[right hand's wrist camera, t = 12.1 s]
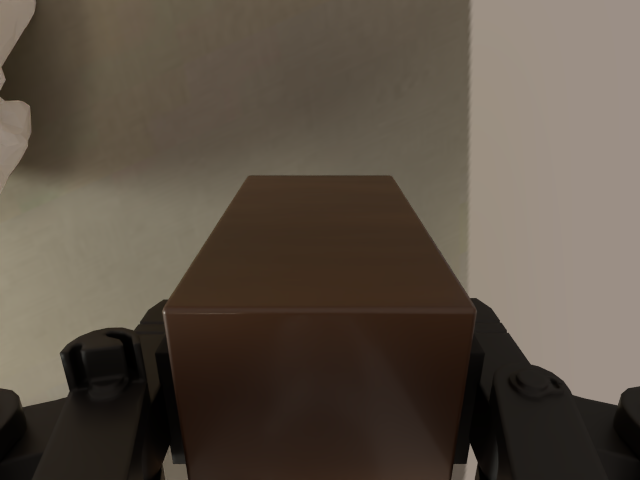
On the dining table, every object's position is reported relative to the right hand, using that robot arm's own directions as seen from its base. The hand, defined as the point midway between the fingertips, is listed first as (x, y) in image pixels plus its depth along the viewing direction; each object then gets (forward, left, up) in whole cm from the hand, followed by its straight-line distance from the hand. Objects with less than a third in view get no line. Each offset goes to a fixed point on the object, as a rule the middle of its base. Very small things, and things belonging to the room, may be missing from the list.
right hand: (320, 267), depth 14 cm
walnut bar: (-8, -4, 0) cm, 9 cm away
